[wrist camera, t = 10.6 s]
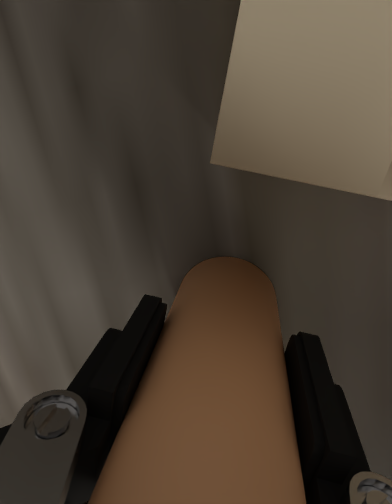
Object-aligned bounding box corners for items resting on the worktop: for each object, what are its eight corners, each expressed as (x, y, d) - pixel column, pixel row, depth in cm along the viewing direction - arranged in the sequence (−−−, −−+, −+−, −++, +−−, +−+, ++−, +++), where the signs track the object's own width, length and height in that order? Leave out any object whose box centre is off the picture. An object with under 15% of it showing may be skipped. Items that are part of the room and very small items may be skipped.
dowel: (261, 351, 14) (303, 1192, 3) (172, 329, 14) (-90, 1026, 3) (288, 269, 12) (587, 1421, 1) (187, 246, 13) (-216, 1049, 2)
